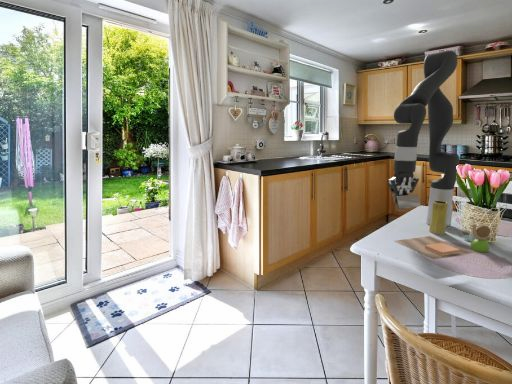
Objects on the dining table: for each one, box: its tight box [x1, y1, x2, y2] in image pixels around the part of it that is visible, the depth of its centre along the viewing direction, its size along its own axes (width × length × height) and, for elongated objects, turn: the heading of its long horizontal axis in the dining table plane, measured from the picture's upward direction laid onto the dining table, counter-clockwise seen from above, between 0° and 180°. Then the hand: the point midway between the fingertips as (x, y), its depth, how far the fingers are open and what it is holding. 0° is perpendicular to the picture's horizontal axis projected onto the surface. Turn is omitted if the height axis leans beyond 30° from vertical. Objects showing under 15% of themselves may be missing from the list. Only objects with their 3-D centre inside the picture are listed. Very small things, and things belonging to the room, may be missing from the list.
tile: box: [425, 243, 460, 256], centre depth 111 cm, size 8×1×7 cm
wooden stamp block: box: [391, 192, 422, 212], centre depth 121 cm, size 6×10×7 cm, turn 110°
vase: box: [428, 201, 448, 235], centre depth 130 cm, size 6×6×14 cm
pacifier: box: [462, 228, 477, 243], centre depth 123 cm, size 7×6×6 cm
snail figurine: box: [470, 220, 491, 253], centre depth 111 cm, size 5×6×12 cm
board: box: [394, 235, 474, 260], centre depth 115 cm, size 18×18×2 cm
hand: (400, 203), depth 122 cm, fingers closed on wooden stamp block
